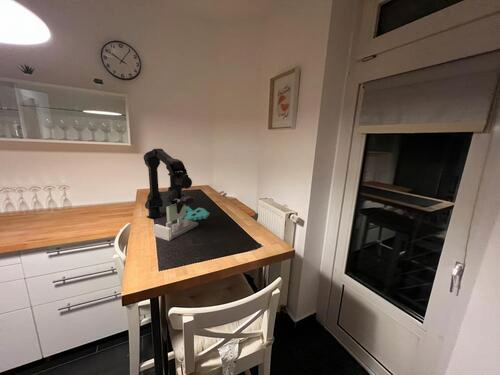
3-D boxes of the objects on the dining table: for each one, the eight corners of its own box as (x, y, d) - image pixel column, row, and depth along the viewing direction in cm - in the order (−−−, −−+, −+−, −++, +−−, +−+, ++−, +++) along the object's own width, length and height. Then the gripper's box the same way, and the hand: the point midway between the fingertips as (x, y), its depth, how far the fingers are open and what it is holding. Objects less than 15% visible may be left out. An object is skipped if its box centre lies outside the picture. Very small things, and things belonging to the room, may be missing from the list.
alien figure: (170, 219, 129) (200, 223, 125) (170, 216, 129) (200, 220, 125) (186, 209, 148) (213, 212, 144) (186, 206, 148) (213, 209, 144)
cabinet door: (167, 221, 107) (166, 206, 105) (183, 214, 118) (183, 200, 116) (170, 222, 106) (170, 207, 104) (187, 215, 117) (186, 201, 115)
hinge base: (154, 236, 106) (153, 225, 105) (184, 221, 126) (184, 212, 124) (169, 240, 102) (168, 229, 101) (198, 225, 122) (198, 215, 120)
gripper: (150, 185, 105) (152, 214, 108) (178, 190, 97) (179, 222, 101) (167, 181, 115) (168, 208, 118) (194, 186, 107) (194, 215, 111)
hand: (177, 213), depth 112 cm, fingers closed on cabinet door, 2 cm apart
